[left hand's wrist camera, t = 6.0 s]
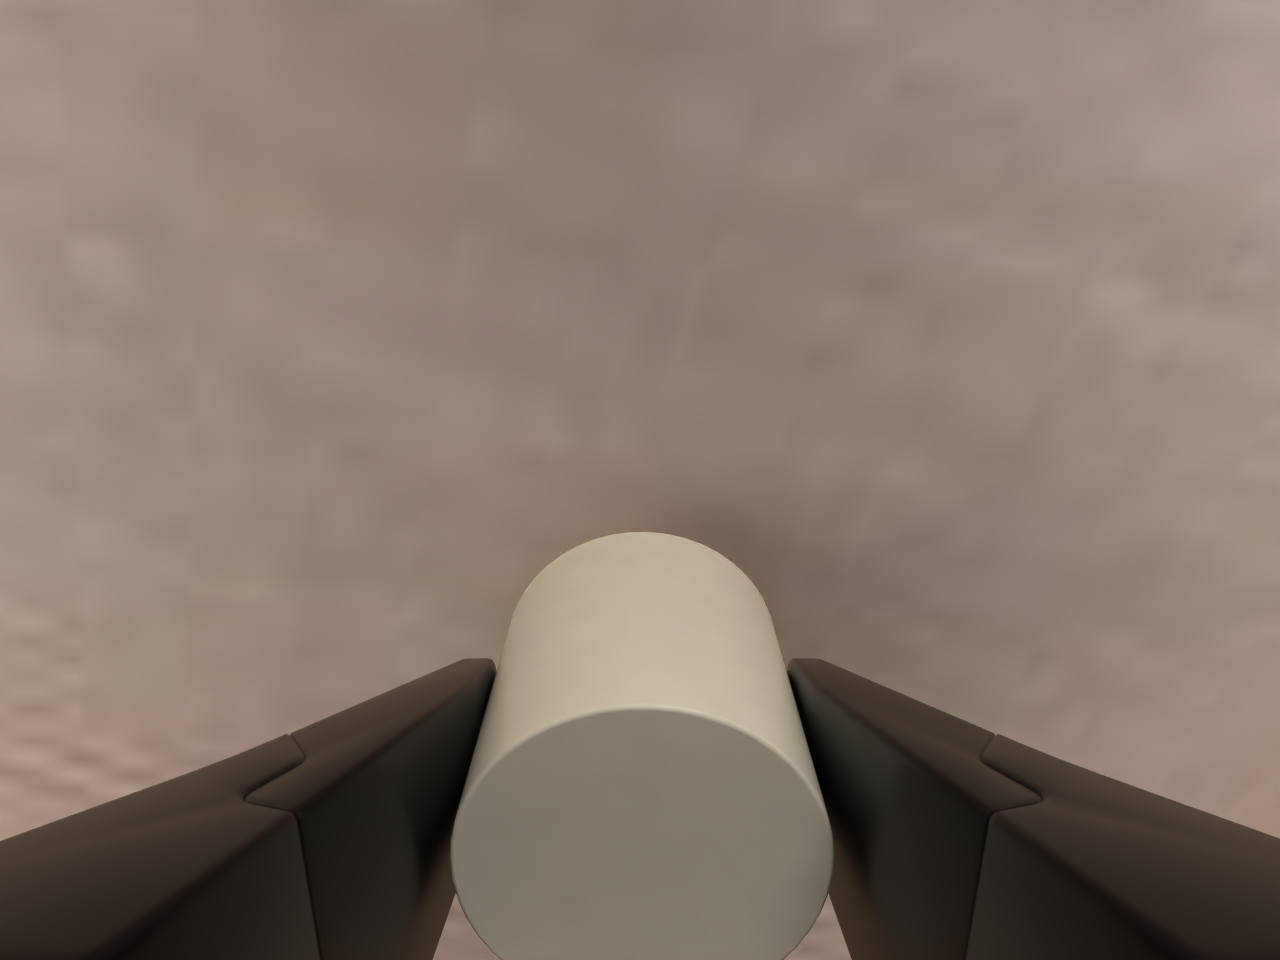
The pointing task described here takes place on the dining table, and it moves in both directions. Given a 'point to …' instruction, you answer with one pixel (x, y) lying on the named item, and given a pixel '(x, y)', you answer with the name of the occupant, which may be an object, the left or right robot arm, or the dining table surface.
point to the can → (641, 769)
